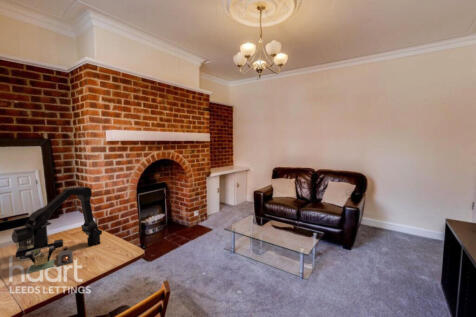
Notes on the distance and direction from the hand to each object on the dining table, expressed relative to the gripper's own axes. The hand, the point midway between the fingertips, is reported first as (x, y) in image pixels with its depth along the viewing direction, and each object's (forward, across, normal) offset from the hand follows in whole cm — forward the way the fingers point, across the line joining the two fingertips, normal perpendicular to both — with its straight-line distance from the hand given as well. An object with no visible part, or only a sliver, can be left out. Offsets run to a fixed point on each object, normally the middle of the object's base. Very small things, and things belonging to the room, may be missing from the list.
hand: (42, 262), depth 117 cm
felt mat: (+2, 0, 0) cm, 2 cm away
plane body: (+2, -10, -2) cm, 10 cm away
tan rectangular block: (-1, 0, 0) cm, 1 cm away
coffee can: (+2, +7, -19) cm, 20 cm away
